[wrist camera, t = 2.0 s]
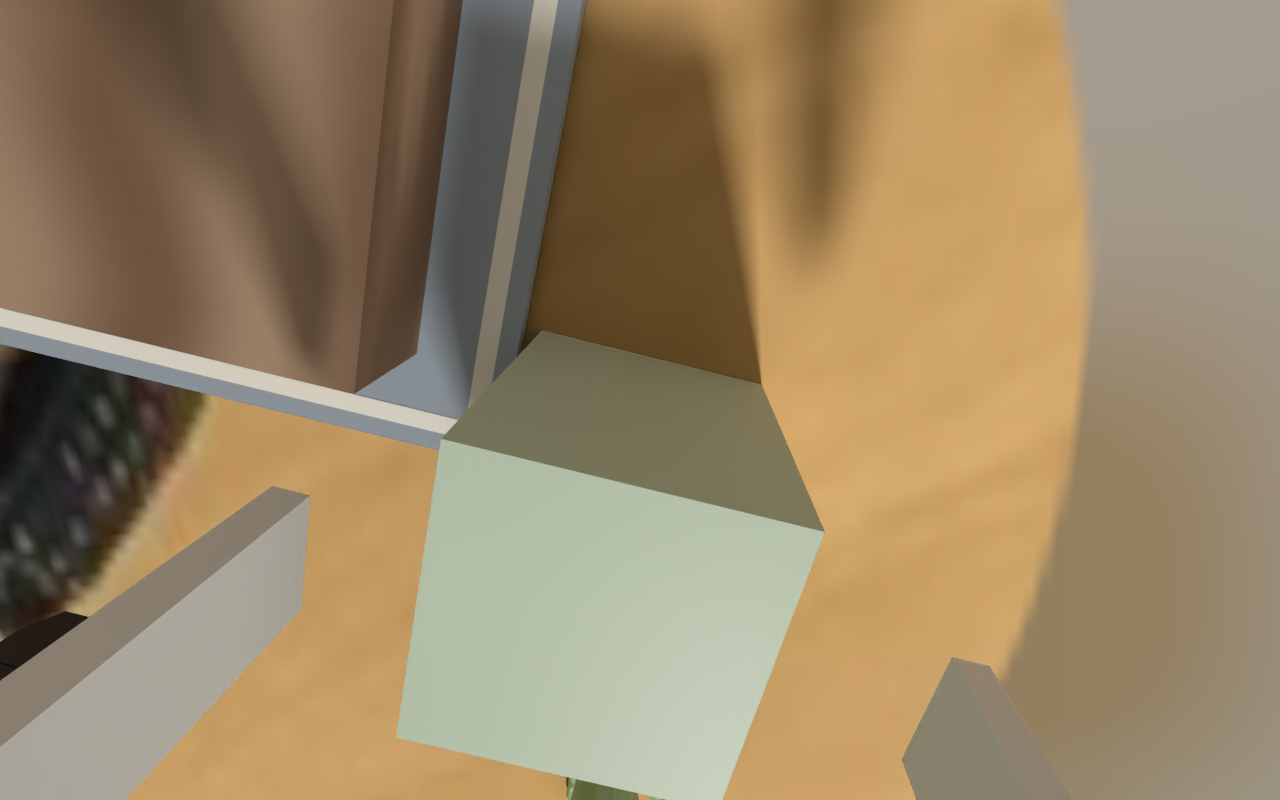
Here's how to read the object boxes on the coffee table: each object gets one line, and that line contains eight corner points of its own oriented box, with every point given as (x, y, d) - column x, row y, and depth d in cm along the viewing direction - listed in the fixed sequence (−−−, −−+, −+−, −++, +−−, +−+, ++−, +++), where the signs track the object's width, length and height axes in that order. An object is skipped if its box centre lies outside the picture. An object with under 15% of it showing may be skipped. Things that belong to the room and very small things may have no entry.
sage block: (504, 524, 22) (395, 737, 14) (542, 329, 20) (440, 438, 11) (701, 571, 22) (717, 811, 14) (761, 384, 20) (825, 531, 11)
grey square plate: (-43, 324, 21) (-64, 328, 20) (-125, -414, 15) (-158, -439, 14) (501, 456, 21) (496, 464, 21) (625, -212, 15) (623, -227, 15)
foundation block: (25, 257, 19) (-135, 274, 15) (-12, -237, 15) (-235, -374, 12) (416, 353, 20) (354, 393, 16) (477, -108, 16) (413, -202, 12)
